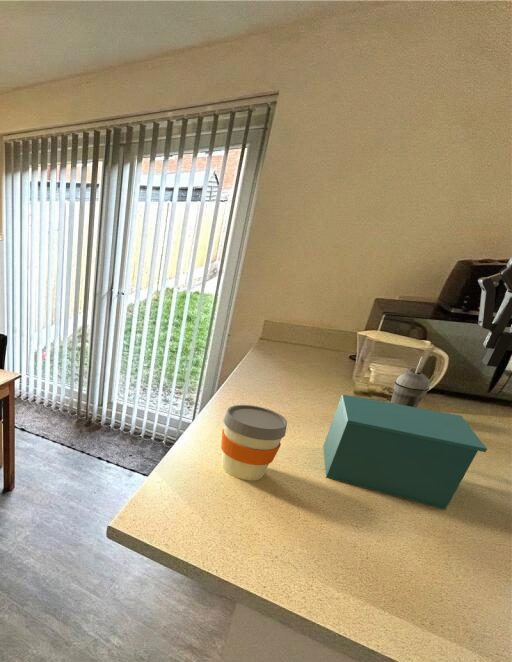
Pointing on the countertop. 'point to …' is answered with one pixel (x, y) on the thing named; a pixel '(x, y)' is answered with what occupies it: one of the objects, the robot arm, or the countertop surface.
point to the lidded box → (394, 462)
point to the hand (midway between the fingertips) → (489, 364)
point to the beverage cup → (410, 388)
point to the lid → (411, 422)
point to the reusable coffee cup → (250, 440)
